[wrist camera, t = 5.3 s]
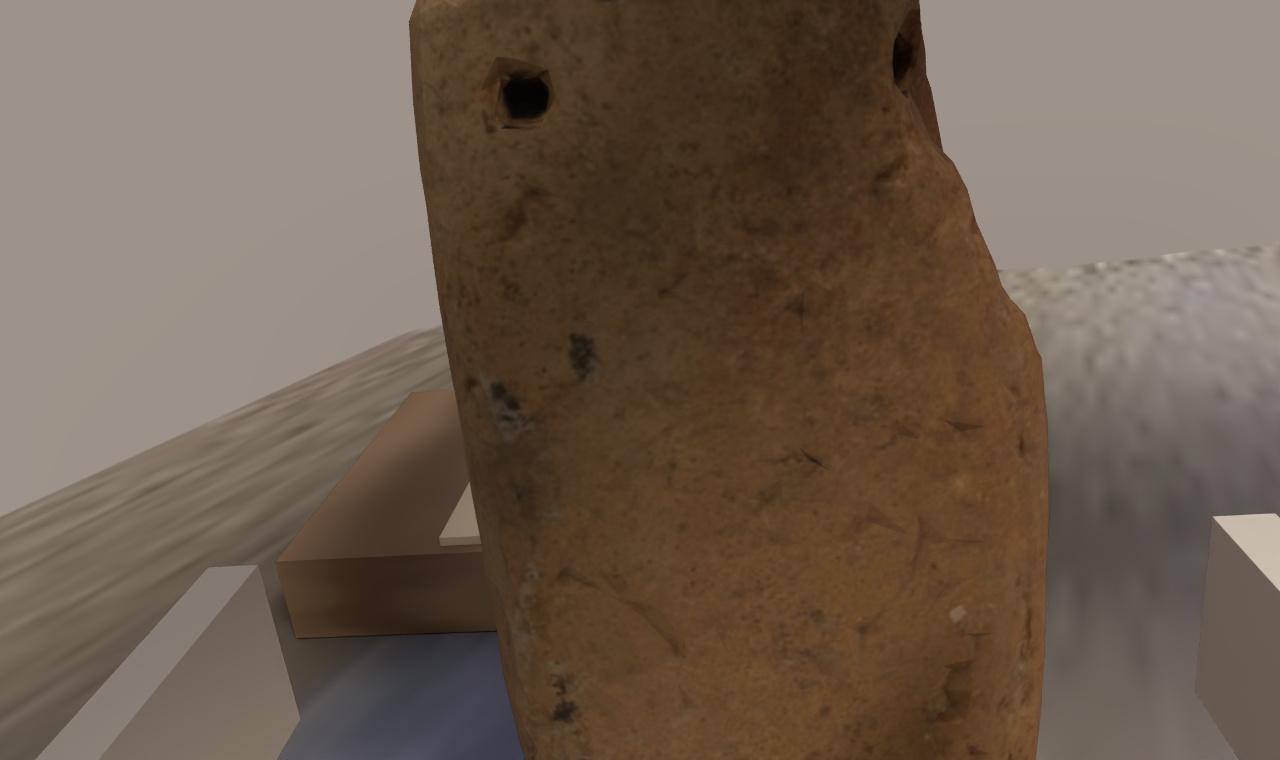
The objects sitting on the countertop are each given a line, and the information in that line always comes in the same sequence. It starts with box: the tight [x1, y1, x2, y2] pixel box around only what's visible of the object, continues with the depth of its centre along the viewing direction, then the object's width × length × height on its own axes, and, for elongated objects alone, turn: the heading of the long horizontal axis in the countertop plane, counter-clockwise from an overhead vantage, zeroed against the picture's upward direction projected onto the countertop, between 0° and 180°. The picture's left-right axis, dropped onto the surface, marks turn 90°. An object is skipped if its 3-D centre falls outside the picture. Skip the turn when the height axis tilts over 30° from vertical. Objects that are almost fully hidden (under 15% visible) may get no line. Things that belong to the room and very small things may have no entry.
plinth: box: [275, 390, 497, 638], centre depth 40 cm, size 22×15×3 cm
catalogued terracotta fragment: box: [409, 0, 1049, 760], centre depth 21 cm, size 11×8×20 cm
